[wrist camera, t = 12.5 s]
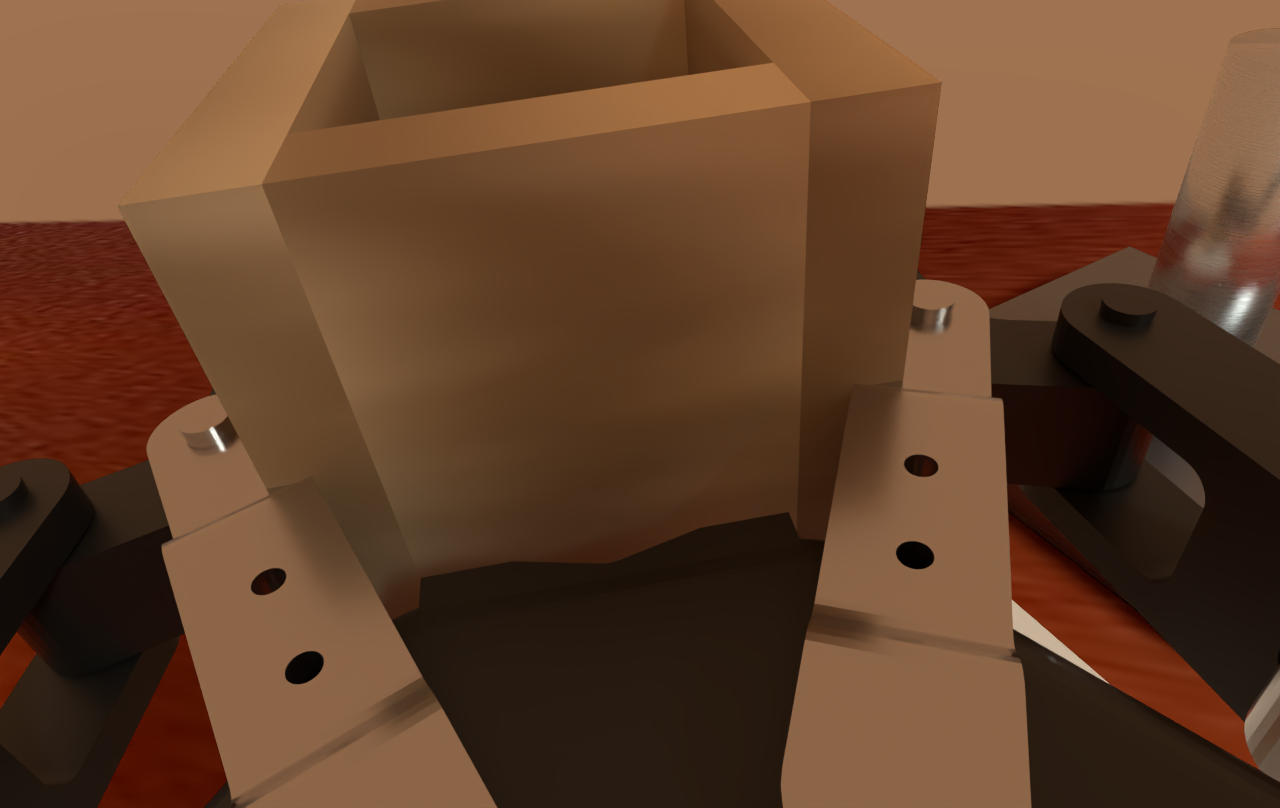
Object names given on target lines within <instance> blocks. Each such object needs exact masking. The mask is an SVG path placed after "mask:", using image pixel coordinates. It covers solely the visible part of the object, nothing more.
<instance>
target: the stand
mask: <svg viewBox="0 0 1280 808" xmlns="http://www.w3.org/2000/svg"><path fill="white" fill-rule="evenodd" d="M1101 283H1120V284H1130V285H1136V286H1141V287H1145V288H1149V289H1152V290H1155V291H1158V292H1161V293H1163V294H1165V295H1168V296H1170V297H1172V298H1173V299H1175V300H1177V301H1179V302H1180V303H1182V304H1183V305H1185V306H1187V307H1188V308H1190V309H1192V310H1193V311H1195V312H1196V313H1198V314H1200V315H1201V316H1203V317H1204V318H1206V319H1208V320H1209V321H1211V322H1213V323H1214V324H1216V325H1217V326H1219V327H1221V328H1222V329H1224V330H1225V331H1227V332H1229V333H1230V334H1232V335H1233V336H1235V337H1237V338H1238V339H1240V340H1242V341H1243V342H1245V343H1246V344H1248V345H1250V346H1251V347H1253V348H1254V349H1256V350H1258V351H1259V352H1261V353H1263V354H1264V355H1266V356H1267V357H1269V358H1271V359H1272V360H1274V361H1275V362H1277V363H1279V364H1280V311H1279V310H1276V309H1274V308H1273V305H1274V303H1275V301H1276V299H1277V297H1278V294H1279V292H1280V28H1274V29H1262V30H1256V31H1250V32H1246V33H1243V34H1240V35H1237V36H1235V37H1234V38H1233V39H1231V40H1230V42H1229V45H1228V49H1227V51H1226V54H1225V57H1224V60H1223V63H1222V66H1221V69H1220V72H1219V75H1218V78H1217V81H1216V84H1215V87H1214V90H1213V93H1212V96H1211V99H1210V102H1209V105H1208V108H1207V111H1206V114H1205V117H1204V119H1203V122H1202V125H1201V129H1200V131H1199V134H1198V138H1197V140H1196V143H1195V147H1194V149H1193V153H1192V155H1191V158H1190V161H1189V164H1188V167H1187V171H1186V173H1185V176H1184V179H1183V182H1182V185H1181V188H1180V191H1179V194H1178V197H1177V200H1176V203H1175V206H1174V209H1173V212H1172V215H1171V218H1170V221H1169V224H1168V227H1167V230H1166V233H1165V236H1164V239H1163V242H1162V245H1161V248H1160V251H1159V254H1158V257H1157V258H1155V257H1153V256H1150V255H1148V254H1146V253H1143V252H1141V251H1139V250H1136V249H1134V248H1132V247H1127V248H1125V249H1123V250H1121V251H1118V252H1116V253H1114V254H1112V255H1109V256H1107V257H1105V258H1103V259H1100V260H1098V261H1096V262H1094V263H1091V264H1089V265H1087V266H1085V267H1083V268H1080V269H1078V270H1076V271H1074V272H1071V273H1069V274H1067V275H1065V276H1062V277H1060V278H1058V279H1056V280H1053V281H1051V282H1049V283H1047V284H1045V285H1042V286H1040V287H1038V288H1036V289H1033V290H1031V291H1029V292H1027V293H1024V294H1022V295H1020V296H1018V297H1015V298H1013V299H1011V300H1009V301H1007V302H1004V303H1002V304H1000V305H998V306H995V307H993V308H991V309H989V318H995V319H1005V320H1031V321H1057V319H1058V316H1059V312H1060V308H1061V304H1062V301H1063V299H1064V298H1065V296H1066V295H1068V294H1069V293H1070V292H1072V291H1073V290H1075V289H1077V288H1080V287H1083V286H1087V285H1092V284H1101ZM1145 460H1146V461H1147V462H1149V463H1150V464H1151V465H1152V466H1153V467H1155V468H1156V469H1157V470H1158V471H1159V472H1161V473H1162V474H1163V475H1164V476H1165V477H1167V478H1168V479H1169V480H1170V481H1171V482H1172V483H1174V484H1175V485H1176V486H1177V487H1178V488H1180V489H1181V490H1182V491H1183V492H1184V493H1186V494H1187V495H1188V496H1189V497H1190V498H1192V499H1193V500H1194V501H1195V502H1196V503H1198V504H1199V505H1200V506H1201V507H1202V508H1204V505H1205V493H1204V488H1203V485H1202V482H1201V480H1200V478H1199V476H1198V475H1197V473H1196V472H1195V470H1194V469H1193V468H1192V467H1191V465H1189V464H1188V463H1187V462H1186V461H1185V460H1184V459H1182V458H1181V457H1180V456H1179V455H1177V454H1176V453H1175V452H1174V451H1172V450H1171V449H1170V448H1169V447H1167V446H1166V445H1165V444H1164V443H1162V442H1161V441H1160V440H1159V439H1157V438H1156V437H1155V436H1154V435H1153V438H1152V441H1151V443H1150V446H1149V448H1148V451H1147V454H1146V456H1145ZM1007 501H1008V511H1009V512H1010V513H1012V514H1013V515H1014V516H1016V517H1017V518H1018V519H1020V520H1021V521H1022V522H1023V523H1025V524H1026V525H1027V526H1029V527H1030V528H1031V529H1033V530H1034V531H1035V532H1036V533H1038V534H1039V535H1040V536H1042V537H1043V538H1044V539H1045V540H1047V541H1048V542H1049V543H1051V544H1052V545H1053V546H1055V547H1056V548H1057V549H1058V550H1060V551H1061V552H1062V553H1064V554H1065V555H1066V556H1068V557H1069V558H1070V559H1071V560H1073V561H1074V562H1075V563H1077V564H1078V565H1079V566H1081V567H1082V568H1083V569H1084V570H1086V571H1087V572H1088V573H1090V574H1091V575H1092V576H1094V577H1095V578H1096V579H1097V580H1099V581H1100V582H1101V583H1103V584H1104V585H1105V586H1106V587H1108V588H1109V589H1110V590H1112V591H1113V592H1114V593H1116V594H1117V595H1118V596H1119V597H1121V598H1122V599H1123V600H1125V601H1126V602H1127V603H1129V602H1128V601H1127V600H1126V599H1125V598H1124V597H1123V596H1122V595H1121V594H1120V593H1119V592H1118V591H1117V590H1116V589H1115V588H1114V586H1113V585H1112V584H1111V583H1110V582H1109V581H1108V580H1107V579H1106V578H1105V577H1104V576H1103V575H1102V574H1101V573H1100V572H1099V571H1098V570H1097V569H1096V568H1095V567H1094V566H1093V565H1092V564H1091V563H1090V562H1089V561H1088V560H1087V559H1086V558H1085V556H1084V555H1083V554H1082V553H1081V552H1080V551H1079V550H1078V549H1077V548H1076V547H1075V546H1074V545H1073V544H1072V543H1071V542H1070V541H1069V540H1068V539H1067V538H1066V537H1065V536H1064V535H1063V534H1062V533H1061V532H1060V531H1059V530H1058V529H1057V528H1056V527H1055V525H1054V524H1053V523H1052V522H1051V521H1050V520H1049V519H1048V518H1047V517H1046V516H1045V515H1044V514H1043V513H1042V512H1041V511H1040V510H1039V509H1038V508H1037V507H1036V506H1035V505H1034V504H1033V503H1032V502H1031V501H1030V500H1029V499H1028V498H1027V496H1026V495H1025V494H1024V493H1023V491H1022V489H1021V488H1020V486H1019V485H1012V484H1007ZM1129 604H1130V603H1129ZM1130 605H1131V604H1130ZM1131 606H1132V605H1131ZM1132 607H1133V606H1132Z"/></svg>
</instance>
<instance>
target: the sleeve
mask: <svg viewBox="0 0 1280 808" xmlns="http://www.w3.org/2000/svg"><path fill="white" fill-rule="evenodd" d="M941 83H942V82H941V81H939V80H938V79H936V78H935V77H933V76H932V75H931V74H929V73H928V72H927V71H925V70H924V69H922V68H921V67H919V66H918V65H917V64H915V63H914V62H912V61H911V60H910V59H908V58H907V57H905V56H904V55H902V54H901V53H900V52H898V51H897V50H895V49H894V48H893V47H891V46H890V45H888V44H887V43H886V42H884V41H883V40H881V39H880V38H879V37H877V36H876V35H874V34H873V33H871V32H870V31H869V30H867V29H866V28H864V27H863V26H861V25H860V24H859V23H857V22H856V21H855V20H853V19H852V18H850V17H849V16H848V15H846V14H845V13H843V12H842V11H840V10H839V9H837V8H836V7H834V6H833V5H832V4H831V3H829V2H828V1H826V0H315V1H307V2H300V3H293V4H285V5H279V6H278V7H277V9H276V10H275V11H274V12H273V14H272V15H271V16H270V17H269V19H268V20H267V21H266V22H265V24H264V25H263V26H262V27H261V29H260V30H259V31H258V32H257V33H256V35H255V36H254V37H253V38H252V40H251V41H250V42H249V43H248V45H247V46H246V47H245V48H244V49H243V51H242V52H241V53H240V54H239V56H238V57H237V58H236V60H235V61H234V62H233V63H232V64H231V66H230V67H229V68H228V69H227V71H226V72H225V73H224V74H223V75H222V77H221V78H220V79H219V81H218V82H217V83H216V84H215V85H214V87H213V88H212V89H211V90H210V92H209V93H208V94H207V95H206V97H205V98H204V99H203V100H202V101H201V103H200V104H199V105H198V106H197V108H196V109H195V110H194V111H193V113H192V114H191V115H190V116H189V118H188V119H187V120H186V121H185V123H184V124H183V125H182V126H181V127H180V129H179V130H178V131H177V132H176V134H175V135H174V136H173V137H172V139H171V140H170V141H169V142H168V144H167V145H166V146H165V147H164V148H163V150H162V151H161V152H160V153H159V155H158V156H157V157H156V158H155V160H154V161H153V162H152V164H151V165H150V166H149V167H148V168H147V170H146V171H145V172H144V173H143V174H142V176H141V177H140V179H139V180H138V181H137V182H136V183H135V184H134V186H133V187H132V188H131V189H130V191H129V192H128V193H127V194H126V196H125V197H124V198H123V200H122V201H121V202H120V203H119V204H118V205H117V206H118V208H119V210H120V212H121V214H122V216H123V218H124V220H125V222H126V223H127V225H128V227H129V229H130V231H131V233H132V235H133V237H134V239H135V241H136V242H137V244H138V246H139V248H140V250H141V252H142V254H143V256H144V258H145V260H146V261H147V263H148V265H149V267H150V269H151V271H152V273H153V275H154V277H155V279H156V280H157V282H158V284H159V286H160V288H161V290H162V292H163V294H164V296H165V298H166V299H167V301H168V303H169V305H170V307H171V309H172V311H173V313H174V315H175V317H176V318H177V320H178V322H179V324H180V326H181V328H182V330H183V332H184V334H185V336H186V337H187V339H188V341H189V343H190V345H191V347H192V349H193V351H194V353H195V355H196V356H197V358H198V360H199V362H200V364H201V366H202V368H203V370H204V372H205V374H206V375H207V377H208V379H209V381H210V383H211V385H212V387H213V389H214V391H215V393H216V394H217V396H218V398H219V400H220V402H221V404H222V406H223V408H224V410H225V412H226V413H227V415H228V417H229V419H230V421H231V423H232V425H233V427H234V429H235V430H236V432H237V434H238V436H239V438H240V440H241V442H242V444H243V446H244V448H245V449H246V451H247V453H248V455H249V457H250V459H251V461H252V463H253V465H254V467H255V468H256V470H257V472H258V474H259V476H260V478H261V480H262V482H263V484H264V486H265V487H266V489H267V488H273V487H279V486H285V485H290V484H294V483H296V482H298V481H301V480H303V479H305V478H307V477H309V476H312V477H313V479H314V481H315V482H316V484H317V486H318V488H319V489H320V491H321V493H322V495H323V497H324V499H325V500H326V502H327V504H328V506H329V508H330V509H331V511H332V513H333V515H334V517H335V519H336V520H337V522H338V524H339V526H340V528H341V529H342V531H343V533H344V535H345V537H346V539H347V540H348V542H349V544H350V546H351V548H352V549H353V551H354V553H355V555H356V557H357V559H358V560H359V562H360V564H361V566H362V568H363V569H364V571H365V573H366V575H367V577H368V579H369V580H370V582H371V584H372V586H373V588H374V589H375V591H376V593H377V595H378V597H379V599H380V600H381V602H382V604H383V606H384V608H385V609H386V611H387V613H388V615H389V617H390V619H391V620H393V619H395V618H397V617H399V616H401V615H403V614H405V613H407V612H409V611H412V610H414V609H417V608H419V596H420V582H421V578H423V577H429V576H434V575H440V574H445V573H451V572H456V571H462V570H468V569H473V568H479V567H484V566H490V565H495V564H501V563H507V562H512V561H518V562H559V563H611V562H615V561H618V560H621V559H623V558H626V557H628V556H631V555H633V554H636V553H638V552H641V551H643V550H646V549H648V548H651V547H653V546H656V545H658V544H661V543H663V542H666V541H668V540H671V539H673V538H676V537H678V536H681V535H683V534H686V533H688V532H691V531H693V530H696V529H698V528H702V527H708V526H713V525H719V524H724V523H730V522H735V521H741V520H747V519H752V518H758V517H763V516H769V515H774V514H780V513H786V512H789V514H790V516H791V519H792V521H793V524H794V526H795V529H796V531H797V534H798V536H799V539H816V540H824V541H825V540H826V534H827V528H828V523H829V517H830V511H831V506H832V500H833V494H834V488H835V483H836V477H837V471H838V466H839V460H840V454H841V448H842V443H843V437H844V431H845V426H846V420H847V414H848V408H849V403H850V397H851V391H852V387H853V383H858V384H868V385H875V384H881V383H887V382H893V381H899V380H903V377H904V370H905V362H906V354H907V346H908V339H909V331H910V323H911V315H912V308H913V300H914V292H915V285H916V277H917V269H918V261H919V254H920V246H921V238H922V230H923V223H924V215H925V207H926V199H927V192H928V184H929V175H930V168H931V161H932V153H933V145H934V137H935V130H936V121H937V114H938V107H939V98H940V90H941Z"/></svg>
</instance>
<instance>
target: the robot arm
mask: <svg viewBox="0 0 1280 808" xmlns="http://www.w3.org/2000/svg"><path fill="white" fill-rule="evenodd" d="M1153 435H1154V436H1155V437H1156V438H1157V439H1159V440H1160V441H1161V442H1162V443H1164V444H1165V445H1166V446H1167V447H1169V448H1170V449H1171V450H1172V451H1174V452H1175V453H1176V454H1177V455H1179V456H1180V457H1181V458H1182V459H1184V460H1185V461H1186V462H1187V463H1188V464H1189V465H1191V467H1192V468H1193V469H1194V470H1195V472H1196V473H1197V475H1198V476H1199V478H1200V480H1201V482H1202V485H1203V488H1204V493H1205V505H1204V508H1202V507H1201V506H1200V505H1199V504H1198V503H1196V502H1195V501H1194V500H1193V499H1192V498H1190V497H1189V496H1188V495H1187V494H1186V493H1184V492H1183V491H1182V490H1181V489H1180V488H1178V487H1177V486H1176V485H1175V484H1174V483H1172V482H1171V481H1170V480H1169V479H1168V478H1167V477H1165V476H1164V475H1163V474H1162V473H1161V472H1159V471H1158V470H1157V469H1156V468H1155V467H1153V466H1152V465H1151V464H1150V463H1149V462H1147V461H1146V460H1145V456H1146V454H1147V451H1148V448H1149V446H1150V443H1151V441H1152V438H1153ZM146 449H147V455H148V460H146V461H144V462H142V463H139V464H137V465H134V466H132V467H129V468H126V469H124V470H121V471H118V472H115V473H113V474H110V475H107V476H104V477H102V478H99V479H96V480H93V481H91V482H88V483H85V484H82V485H79V483H78V482H77V481H76V479H75V478H74V477H73V475H72V474H71V472H70V471H69V470H68V468H67V467H66V465H64V464H63V463H61V462H59V461H56V460H53V459H45V458H44V459H29V460H23V461H19V462H15V463H11V464H8V465H5V466H2V467H0V655H1V653H2V652H3V651H4V649H5V648H6V646H7V645H8V643H9V642H10V640H11V639H12V637H13V636H14V635H15V633H16V632H17V633H18V634H19V635H20V636H21V637H22V638H23V639H24V640H25V641H26V642H27V643H28V644H29V645H30V647H31V648H32V649H33V650H34V651H35V652H36V653H37V654H36V655H35V657H34V658H33V660H32V661H31V663H30V665H29V666H28V668H27V669H26V671H25V672H24V674H23V675H22V677H21V678H20V680H19V682H18V683H17V685H16V686H15V688H14V689H13V691H12V692H11V694H10V695H9V697H8V698H7V700H6V702H5V703H4V705H3V706H2V708H1V709H0V808H97V807H98V805H99V803H100V801H101V799H102V797H103V795H104V793H105V791H106V789H107V787H108V785H109V783H110V780H111V778H112V776H113V774H114V772H115V770H116V768H117V766H118V764H119V762H120V760H121V758H122V756H123V754H124V752H125V750H126V748H127V746H128V744H129V742H130V740H131V738H132V736H133V734H134V732H135V730H136V728H137V726H138V724H139V722H140V720H141V718H142V716H143V714H144V712H145V710H146V708H147V706H148V704H149V702H150V700H151V698H152V696H153V694H154V692H155V690H156V688H157V686H158V684H159V682H160V680H161V678H162V676H163V674H164V672H165V670H166V668H167V666H168V664H169V662H170V660H171V658H172V656H173V654H174V652H175V650H176V648H177V645H178V643H179V638H180V635H182V634H184V633H185V634H186V638H187V641H188V645H189V648H190V652H191V655H192V659H193V662H194V666H195V669H196V673H197V676H198V680H199V683H200V687H201V690H202V694H203V697H204V701H205V704H206V707H207V711H208V714H209V718H210V721H211V725H212V728H213V732H214V735H215V739H216V742H217V746H218V749H219V753H220V756H221V760H222V763H223V767H224V770H225V774H226V777H227V782H226V783H225V785H224V786H223V787H222V788H221V789H220V790H219V791H218V792H217V794H216V795H215V796H214V797H213V798H212V799H211V800H210V802H209V803H208V804H207V805H206V806H205V807H204V808H1280V364H1279V363H1277V362H1275V361H1274V360H1272V359H1271V358H1269V357H1267V356H1266V355H1264V354H1263V353H1261V352H1259V351H1258V350H1256V349H1254V348H1253V347H1251V346H1250V345H1248V344H1246V343H1245V342H1243V341H1242V340H1240V339H1238V338H1237V337H1235V336H1233V335H1232V334H1230V333H1229V332H1227V331H1225V330H1224V329H1222V328H1221V327H1219V326H1217V325H1216V324H1214V323H1213V322H1211V321H1209V320H1208V319H1206V318H1204V317H1203V316H1201V315H1200V314H1198V313H1196V312H1195V311H1193V310H1192V309H1190V308H1188V307H1187V306H1185V305H1183V304H1182V303H1180V302H1179V301H1177V300H1175V299H1173V298H1172V297H1170V296H1168V295H1165V294H1163V293H1161V292H1158V291H1155V290H1152V289H1149V288H1145V287H1141V286H1136V285H1130V284H1120V283H1101V284H1092V285H1087V286H1083V287H1080V288H1077V289H1075V290H1073V291H1072V292H1070V293H1069V294H1068V295H1066V296H1065V298H1064V299H1063V301H1062V304H1061V308H1060V312H1059V316H1058V319H1057V321H1031V320H1005V319H995V318H989V309H988V307H987V305H986V303H985V302H984V301H983V299H982V298H981V297H979V296H978V295H977V294H975V293H974V292H972V291H970V290H969V289H966V288H964V287H962V286H959V285H956V284H952V283H949V282H944V281H937V280H925V278H924V277H923V276H922V275H921V274H920V272H919V271H918V270H917V277H916V285H915V292H914V300H913V308H912V315H911V323H910V331H909V339H908V346H907V354H906V362H905V370H904V377H903V380H899V381H893V382H887V383H881V384H875V385H868V384H858V383H853V387H852V391H851V397H850V403H849V408H848V414H847V420H846V426H845V431H844V437H843V443H842V448H841V454H840V460H839V466H838V471H837V477H836V483H835V488H834V494H833V500H832V506H831V511H830V517H829V523H828V528H827V534H826V540H825V541H824V540H816V539H799V536H798V534H797V531H796V529H795V526H794V524H793V521H792V519H791V516H790V514H789V512H786V513H780V514H774V515H769V516H763V517H758V518H752V519H747V520H741V521H735V522H730V523H724V524H719V525H713V526H708V527H702V528H698V529H696V530H693V531H691V532H688V533H686V534H683V535H681V536H678V537H676V538H673V539H671V540H668V541H666V542H663V543H661V544H658V545H656V546H653V547H651V548H648V549H646V550H643V551H641V552H638V553H636V554H633V555H631V556H628V557H626V558H623V559H621V560H618V561H615V562H611V563H559V562H518V561H512V562H507V563H501V564H495V565H490V566H484V567H479V568H473V569H468V570H462V571H456V572H451V573H445V574H440V575H434V576H429V577H423V578H421V582H420V596H419V608H417V609H414V610H412V611H409V612H407V613H405V614H403V615H401V616H399V617H397V618H395V619H393V620H391V619H390V617H389V615H388V613H387V611H386V609H385V608H384V606H383V604H382V602H381V600H380V599H379V597H378V595H377V593H376V591H375V589H374V588H373V586H372V584H371V582H370V580H369V579H368V577H367V575H366V573H365V571H364V569H363V568H362V566H361V564H360V562H359V560H358V559H357V557H356V555H355V553H354V551H353V549H352V548H351V546H350V544H349V542H348V540H347V539H346V537H345V535H344V533H343V531H342V529H341V528H340V526H339V524H338V522H337V520H336V519H335V517H334V515H333V513H332V511H331V509H330V508H329V506H328V504H327V502H326V500H325V499H324V497H323V495H322V493H321V491H320V489H319V488H318V486H317V484H316V482H315V481H314V479H313V477H312V476H309V477H307V478H305V479H303V480H301V481H298V482H296V483H294V484H290V485H285V486H279V487H273V488H267V489H266V487H265V486H264V484H263V482H262V480H261V478H260V476H259V474H258V472H257V470H256V468H255V467H254V465H253V463H252V461H251V459H250V457H249V455H248V453H247V451H246V449H245V448H244V446H243V444H242V442H241V440H240V438H239V436H238V434H237V432H236V430H235V429H234V427H233V425H232V423H231V421H230V419H229V417H228V415H227V413H226V412H225V410H224V408H223V406H222V404H221V402H220V400H219V398H218V396H217V394H216V393H215V391H214V389H212V392H211V394H210V396H208V397H205V398H202V399H200V400H197V401H195V402H193V403H190V404H188V405H186V406H184V407H183V408H181V409H179V410H177V411H176V412H174V413H173V414H172V415H170V416H169V417H168V418H166V419H165V420H164V421H163V422H162V423H161V424H160V425H159V426H158V427H157V428H156V429H155V430H154V432H153V433H152V435H151V436H150V438H149V440H148V443H147V448H146ZM1007 484H1012V485H1019V486H1020V488H1021V489H1022V491H1023V493H1024V494H1025V495H1026V496H1027V498H1028V499H1029V500H1030V501H1031V502H1032V503H1033V504H1034V505H1035V506H1036V507H1037V508H1038V509H1039V510H1040V511H1041V512H1042V513H1043V514H1044V515H1045V516H1046V517H1047V518H1048V519H1049V520H1050V521H1051V522H1052V523H1053V524H1054V525H1055V527H1056V528H1057V529H1058V530H1059V531H1060V532H1061V533H1062V534H1063V535H1064V536H1065V537H1066V538H1067V539H1068V540H1069V541H1070V542H1071V543H1072V544H1073V545H1074V546H1075V547H1076V548H1077V549H1078V550H1079V551H1080V552H1081V553H1082V554H1083V555H1084V556H1085V558H1086V559H1087V560H1088V561H1089V562H1090V563H1091V564H1092V565H1093V566H1094V567H1095V568H1096V569H1097V570H1098V571H1099V572H1100V573H1101V574H1102V575H1103V576H1104V577H1105V578H1106V579H1107V580H1108V581H1109V582H1110V583H1111V584H1112V585H1113V586H1114V588H1115V589H1116V590H1117V591H1118V592H1119V593H1120V594H1121V595H1122V596H1123V597H1124V598H1125V599H1126V600H1127V601H1128V602H1129V603H1130V604H1131V605H1132V606H1133V607H1134V608H1135V609H1136V610H1137V611H1138V612H1139V613H1140V614H1141V615H1142V616H1143V618H1144V619H1145V620H1146V621H1147V622H1148V623H1149V624H1150V625H1151V626H1152V627H1153V628H1154V629H1155V630H1156V631H1157V632H1158V633H1159V634H1160V635H1161V636H1162V637H1163V638H1164V639H1165V640H1166V641H1167V642H1168V643H1169V644H1170V645H1171V646H1172V647H1173V649H1174V650H1175V651H1176V652H1177V653H1178V654H1179V655H1180V656H1181V657H1182V658H1183V659H1184V660H1185V661H1186V662H1187V663H1188V664H1189V665H1190V666H1191V667H1192V668H1193V669H1194V670H1195V671H1196V672H1197V673H1198V674H1199V675H1200V676H1201V677H1202V679H1203V680H1204V681H1205V682H1206V683H1207V684H1208V685H1209V686H1210V687H1211V688H1212V689H1213V690H1214V691H1215V692H1216V693H1217V694H1218V695H1219V696H1220V697H1221V698H1222V699H1223V700H1224V701H1225V702H1226V703H1227V704H1228V705H1229V706H1230V707H1231V709H1232V710H1233V711H1234V712H1235V713H1236V714H1237V715H1238V716H1239V717H1240V718H1241V719H1242V720H1243V721H1244V722H1245V737H1246V742H1247V745H1248V748H1249V750H1250V753H1251V755H1252V757H1253V759H1254V761H1255V762H1256V764H1257V766H1258V767H1259V769H1260V770H1261V771H1262V772H1261V771H1260V770H1258V769H1256V768H1254V767H1253V766H1251V765H1249V764H1247V763H1246V762H1244V761H1242V760H1241V759H1239V758H1237V757H1235V756H1234V755H1232V754H1230V753H1228V752H1227V751H1225V750H1223V749H1221V748H1220V747H1218V746H1216V745H1214V744H1213V743H1211V742H1209V741H1207V740H1206V739H1204V738H1202V737H1200V736H1199V735H1197V734H1195V733H1194V732H1192V731H1190V730H1188V729H1187V728H1185V727H1183V726H1181V725H1180V724H1178V723H1176V722H1174V721H1173V720H1171V719H1169V718H1167V717H1166V716H1164V715H1162V714H1160V713H1159V712H1157V711H1155V710H1153V709H1152V708H1150V707H1148V706H1147V705H1145V704H1143V703H1141V702H1140V701H1138V700H1136V699H1134V698H1133V697H1131V696H1129V695H1127V694H1126V693H1124V692H1122V691H1120V690H1119V689H1117V688H1115V687H1114V686H1112V685H1110V684H1108V683H1107V682H1105V681H1103V680H1101V679H1100V678H1098V677H1096V676H1094V675H1093V674H1091V673H1089V672H1087V671H1086V670H1084V669H1082V668H1080V667H1079V666H1077V665H1075V664H1074V663H1072V662H1070V661H1068V660H1067V659H1065V658H1063V657H1061V656H1060V655H1058V654H1056V653H1054V652H1053V651H1051V650H1049V649H1047V648H1046V647H1044V646H1042V645H1041V644H1039V643H1037V642H1035V641H1034V640H1032V639H1030V638H1028V637H1027V636H1025V635H1023V634H1021V633H1020V632H1018V631H1016V630H1014V629H1013V618H1012V595H1011V571H1010V548H1009V524H1008V501H1007Z"/></svg>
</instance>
